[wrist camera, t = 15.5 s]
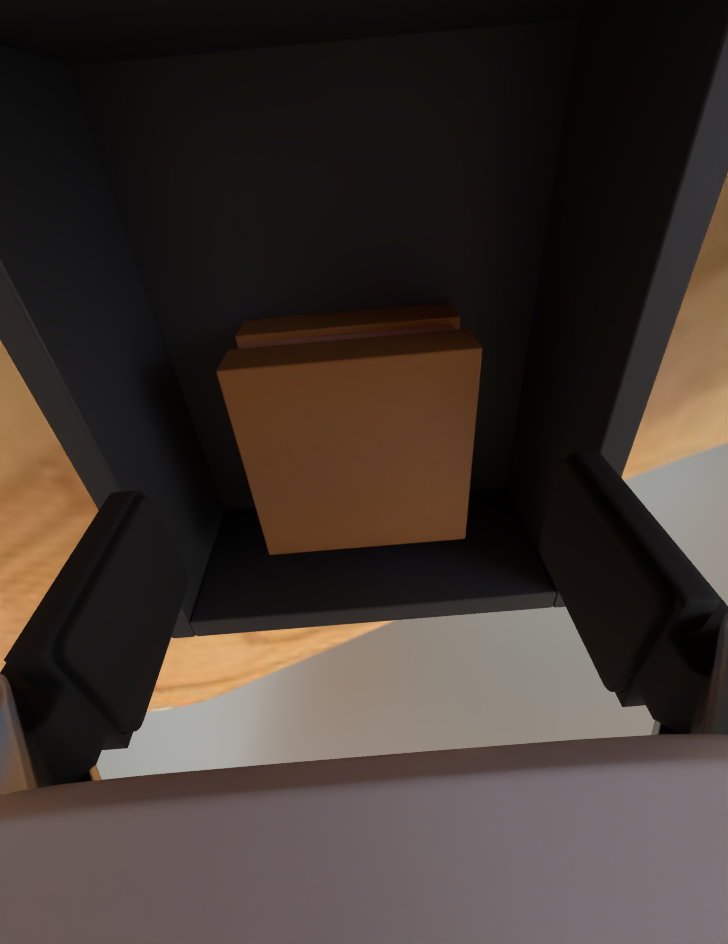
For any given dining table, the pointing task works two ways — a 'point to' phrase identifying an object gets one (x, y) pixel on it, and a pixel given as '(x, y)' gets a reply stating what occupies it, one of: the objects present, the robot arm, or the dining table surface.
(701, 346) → the dining table surface
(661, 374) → the dining table surface
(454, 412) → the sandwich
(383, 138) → the dark grey open box
